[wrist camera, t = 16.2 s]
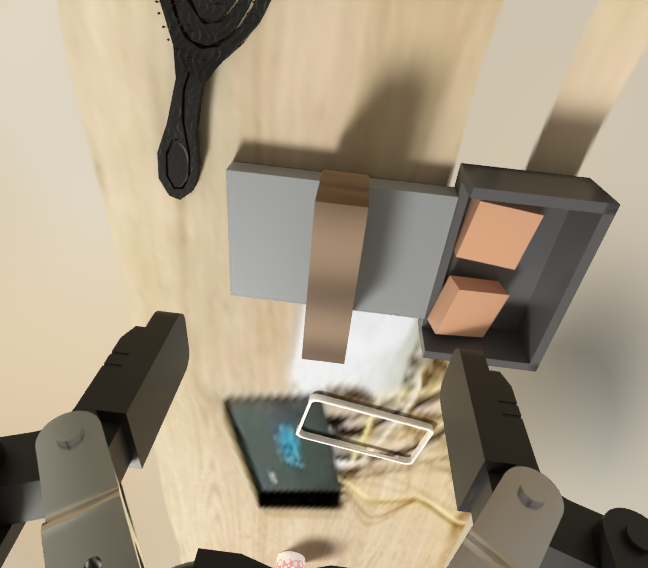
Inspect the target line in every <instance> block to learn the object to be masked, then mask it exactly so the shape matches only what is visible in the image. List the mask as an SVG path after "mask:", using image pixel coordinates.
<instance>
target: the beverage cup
mask: <svg viewBox="0 0 648 568" xmlns="http://www.w3.org/2000/svg"><path fill="white" fill-rule="evenodd" d="M275 568H305V558H304V556H303V555H301V554H299V553H297V552H292V551H285V552H281V553H280V554H278V558H277V562H276V567H275Z"/></svg>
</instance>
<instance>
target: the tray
mask: <svg viewBox="0 0 648 568" xmlns="http://www.w3.org/2000/svg"><path fill="white" fill-rule="evenodd" d="M454 188H455V190H456V192H457V195H458V201H457V204H456V208H455V212H454V215H453V219H452V222H451V226H450V229H449V233H448V237H447V240H446V244H445V247H444V251H443V254H442V258H441V262H440V265H439V269H438V272H437V276H436V279H435V283H434V287H433V290H432V294H431V297H430V301H429V304H428V308H427V311H426V315H425V319H421V318H419V320H418V326H419V333H420V340H421V347H422V354H423V358H431V359H439V360H448V361H450V360H451V357H452V355H453V352H454V350H455V349H466V350H474V351H482V352H483V353H484V355H485V358H486V361H487V364H488V366H496V367H504V368H512V369H520V370H529V371H536V370H537V368H538V366H539V364H540V362H541V360H542V358H543V356H544V354H545V352H546V350H547V348H548V346H549V344H550V342H551V340H552V338H553V336H554V335H555V333H556V331H557V329H558V327H559V325H560V323H561V321H562V319H563V317H564V315H565V313H566V311H567V309H568V307H569V305H570V303H571V301H572V299H573V297H574V295H575V293H576V291H577V289H578V287H579V285H580V283H581V281H582V279H583V277H584V275H585V273H586V271H587V269H588V267H589V265H590V263H591V261H592V259H593V258H594V256H595V254H596V252H597V249H598V248H599V246H600V244H601V242H602V240H603V237H604V236H605V234H606V232H607V230H608V228H609V226H610V224H611V222H612V220H613V218H614V216H615V214H616V212H617V210H618V208H619V206H620V204H619V203H618V202H617V201H616V200H615V199H613V198H612V197H611V196H610V195H609V194H608V193H607V192H605V191H604V190H603V189H602V188H601V187H600V186H598V185H597V184H596V183H595V182H594V181H593V180H592V179H590V178H585V177H576V176H568V175H559V174H551V173H542V172H533V171H525V170H516V169H507V168H499V167H490V166H482V165H473V164H464V163H461V165H460V169H459V172H458V176H457V179H456V183H455V187H454ZM472 199H481V200H489V201H498V202H506V203H515V204H523V205H532V206H537V207H538V208H539V210H540V211H541V212H542V214H543V215H544V217H543V218H542V220H541V222H540V224H539V226H538V228H537V229H536V231H535V233H534V235H533V237H532V239H531V241H530V242H529V244H528V246H527V248H526V250H525V252H524V254H523V255H522V257H521V259H520V261H519V263H518V265H517V267H516V268H515V270H513V269H509V268H504V267H500V266H495V265H491V264H486V263H482V262H477V261H473V260H469V259H464V258H460V257H456V255H455V252H454V249H453V248H454V245H455V242H456V238H457V235H458V231H459V228H460V225H461V223H462V221H463V218H464V216H465V214H466V211H467V209H468V207H469V204H470V202H471V200H472ZM450 275H451V276H459V277H468V278H476V279H485V280H493V281H499V283H500V284H501V285H502V286H503V288H504V289H505V290H506V291H507V292H508V294H509V295H510V296H509V297H508V299H507V300H506V302H505V303H504V305H503V307H502V308H501V310H500V311H499V313H498V314H497V316H496V318H495V319H494V321H493V322H492V324H491V326H490V327H489V329H488V330H487V332H486V333H485V335H484V337H470V336H457V335H443V334H435V332H434V331H433V329H432V327H431V325H430V323H429V321H428V319H427V318H428V316H429V314H430V312H431V310H432V309H433V307H434V305H435V303H436V301H437V299H438V297H439V295H440V293H441V291H442V289H443V287H444V285H445V284H446V282H447V280H448V278H449V276H450Z"/></svg>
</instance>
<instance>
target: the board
mask: <svg viewBox="0 0 648 568" xmlns="http://www.w3.org/2000/svg"><path fill="white" fill-rule="evenodd" d="M321 174H322V172H319V171H310V170H302V169H293V168H285V167H276V166H268V165H259V164H251V163H242V162H232V163H231V164H230V166H229V167H228V168H227V169H226V180H227V208H228V235H229V263H230V290H231V295H233V296H242V297H250V298H258V299H266V300H274V301H282V302H291V303H299V304H306V302H307V290H308V278H309V266H310V254H311V241H312V229H313V217H314V205H315V198H316V194H317V190H318V186H319V182H320V178H321ZM457 201H458V195H457V192H456V190H455V188H454V187H447V186H438V185H430V184H421V183H413V182H404V181H396V180H387V179H379V178H370V177H369V209H368V215H367V221H366V228H365V234H364V240H363V247H362V253H361V260H360V266H359V272H358V279H357V285H356V291H355V298H354V304H353V310H356V311H364V312H372V313H380V314H388V315H397V316H405V317H413V318H421V319H425V315H426V311H427V308H428V304H429V301H430V297H431V294H432V290H433V287H434V283H435V279H436V276H437V272H438V269H439V265H440V262H441V258H442V254H443V251H444V247H445V244H446V240H447V237H448V233H449V229H450V226H451V222H452V219H453V215H454V212H455V208H456V204H457Z"/></svg>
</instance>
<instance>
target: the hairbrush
mask: <svg viewBox="0 0 648 568" xmlns="http://www.w3.org/2000/svg"><path fill="white" fill-rule="evenodd" d="M192 1H193V3H194V5H195V7H194V5H193V3H192ZM192 1H191V0H160V3H161V6H162V10H163V13H164V16H165V19H166V23H167V26H168V29H169V33H170V36H171V39H172V43H173V48H174V61H175V74H176V80H175V85H174V90H173V96H172V101H171V106H170V111H169V116H168V121H167V125H166V128H165V131H164V134H163V137H162V140H161V143H160V146H159V149H158V152H157V154H158V173H159V179H160V181H161V183H162V184H163V186H164V188H165V189H166V191H167V193H168V194H169V196H172V197H174V198H177V199H179V200H180V199H182V198H183V197H185V196H186V195H188V194H189V193H190V192H192V191H193V190H194V188H195V186H196V185H197V181H198V177H199V171H200V165H201V159H200V145H199V131H198V127H199V119H200V111H201V103H202V96H203V88H204V85H205V82H206V81H207V80H208V78H209V77H210V76H211V74H212V73H213V72H214V71H215V69H216V68H217V67H218V66H219V65H220V64H221V63H222V62H223V61H224V60H225V59H226V58H228V57H229V56H230V55H231V54H232V53H233V52H234V51H235V50H236V49H237V48H239V47H240V46H241V45H242V44H243V43H244V42H243V41H244V40H245V39H246V38H247V37H249V35H250V33H251V32H252V31H253V30H254V29H255V28H256V27H257V26H258V24H259V23H260V21H261V19H262V17H263V15H264V13H265V11H266V9H267V7H268V5H269V3H270V1H271V0H255V1H253V3H254V5H253V8H252V9H251V11H250V12H249V13H247V17H246V18H245V20H244V21H243V23H242V24H241V26H240V27H239V29H238V30H237V32H236V33H235V34H234V36H232V37H231V38H230V39H228V40H227V41H226V42H224V43H222V44H220V45H211V44H213V43H216V42H219V41H223V40H224V38H226V37H228V36H229V35H230V34H231V33H232V32H233V31H234V29H235V28H236V27H237V26H238V25H239V23H240V22H241V20H242V18H243V17H244V15H245V13H246V12H247V10H248V8H249V6H250V4H251V2H252V0H239V1H238V4H236V6H235V8H234V9H233V10H232V11H231V12H230V14H229V15H228V16H227V17H226V18H225V20H223V21H222V22H221V23H214V24H210V23H208V22H206V21H204V20H203V19H201V18H199V17H202V18H205V19H208V20H211V21H217V20H219V19H220V18H222V17H223V16H224V15H226V14H227V12H228V11H229V10H230V8H231V7H232V6H233V5H234V3H235V2H236V0H192ZM155 2H156V3H157V2H158V1H155ZM174 2H175V5H174ZM175 6H176V7H175ZM195 8H196V9H195ZM175 9H177V10H176V11H175ZM196 10H197V11H196ZM176 12H177V14H178V17H179V18H178V17H177V15H176ZM197 12H198V14H197ZM158 14H160V12H158ZM198 15H199V16H198ZM164 27H165V26H162V28H164ZM167 40H168V41H169V39H167ZM197 42H198V43H201V44H203V45H206V46H200V45H199V44H198V43H197ZM242 42H243V43H242ZM241 43H242V44H241ZM240 44H241V45H240ZM208 45H211V46H208ZM190 73H191V74H190ZM189 75H190V77H189ZM188 78H189V80H188ZM187 82H188V83H187ZM186 85H187V86H186ZM173 139H175V141H174V142H173V144H172V146H171V148H170V145H171V143H172V141H173ZM169 148H170V151H169ZM190 171H191V176H190V178H189V174H190ZM188 178H189V180H188ZM187 180H188V182H187V183H186V185H184V184H185V182H186V181H187ZM183 185H184V186H183Z"/></svg>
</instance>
